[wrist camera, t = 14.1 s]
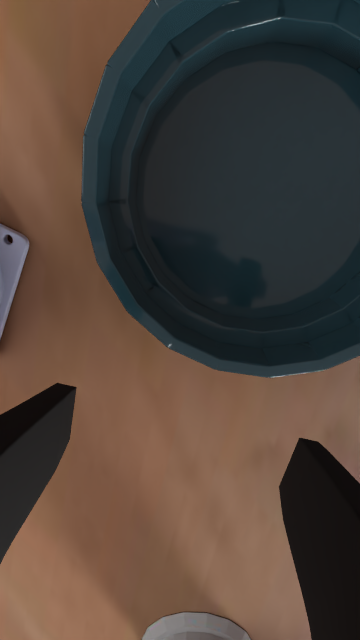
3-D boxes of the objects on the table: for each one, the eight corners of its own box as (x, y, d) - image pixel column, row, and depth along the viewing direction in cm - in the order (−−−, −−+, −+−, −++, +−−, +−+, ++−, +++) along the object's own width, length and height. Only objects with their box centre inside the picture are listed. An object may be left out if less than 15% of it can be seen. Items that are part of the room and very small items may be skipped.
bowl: (71, 267, 19) (33, 286, 15) (191, -66, 14) (186, -185, 10) (309, 379, 20) (337, 426, 16) (497, 111, 15) (612, 77, 11)
